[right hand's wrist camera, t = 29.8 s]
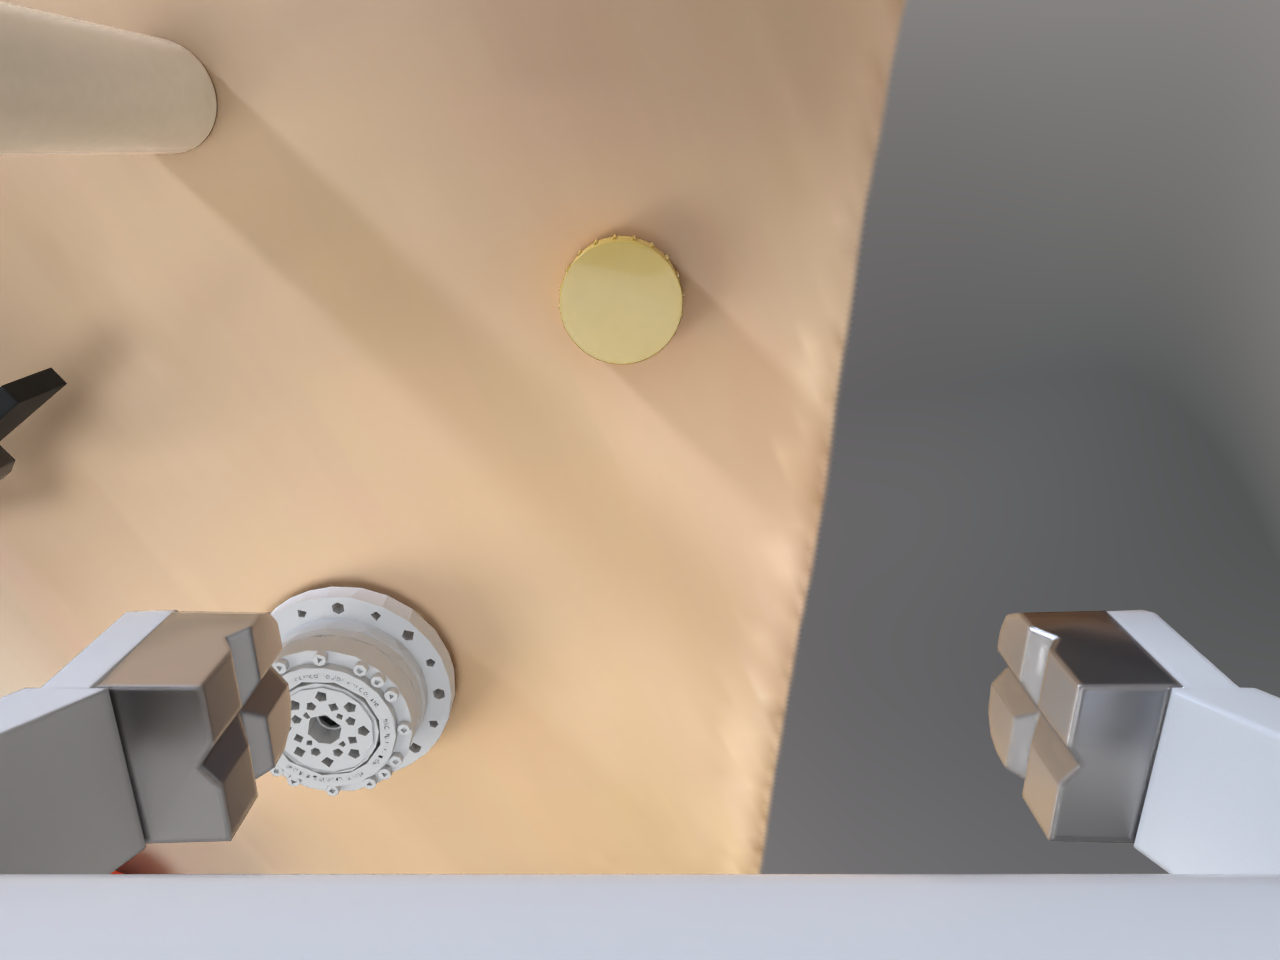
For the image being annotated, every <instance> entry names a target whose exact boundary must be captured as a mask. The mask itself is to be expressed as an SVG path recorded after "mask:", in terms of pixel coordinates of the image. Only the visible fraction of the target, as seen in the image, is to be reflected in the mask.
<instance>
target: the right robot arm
mask: <svg viewBox="0 0 1280 960" xmlns="http://www.w3.org/2000/svg"><path fill="white" fill-rule="evenodd" d="M282 649H283V647H282V642H281V637H280V632H279V627H278V622H277V621H276V620H275V619H274V618H273V616H272V615H271V614H270V613H260V612H205V611H181V612H179V611H177V610H159V611H135V612H126V613H125V614H124V615H122V616H121V617H120V618H119V619H118V620H117V621H116V622H115V623H113V624H112V625H111V626H110V627H109V628H108V629H107V630H106V631H104V632H103V633H102V634H101V635H100V636H99V637H98V638H96V639H95V640H94V641H93V642H92V643H91V644H90V645H89V646H87V647H86V648H85V649H84V650H83V651H82V652H81V653H80V654H78V655H77V656H76V657H75V658H74V659H73V660H72V661H71V662H69V663H68V664H67V665H66V666H65V667H64V668H63V669H61V670H60V671H59V672H58V673H57V674H56V675H55V676H54V677H52V678H51V679H50V680H49V681H48V682H47V683H46V684H45V685H43V686H42V687H41V688H24V689H22V690H19V691H17V692H14V693H12V694H9V695H6V696H4V697H1V698H0V960H1280V698H1278V697H1276V696H1273V695H1271V694H1268V693H1266V692H1263V691H1261V690H1258V689H1256V688H1239V687H1238V686H1237V685H1236V684H1234V683H1233V682H1232V681H1231V680H1230V679H1229V678H1228V677H1227V676H1225V675H1224V674H1223V673H1222V672H1221V671H1220V670H1219V669H1218V668H1216V667H1215V666H1214V665H1213V664H1212V663H1211V662H1210V661H1209V660H1207V659H1206V658H1205V657H1204V656H1203V655H1202V654H1201V653H1200V652H1198V651H1197V650H1196V649H1195V648H1194V647H1193V646H1192V645H1190V644H1189V643H1188V642H1187V641H1186V640H1185V639H1184V638H1183V637H1181V636H1180V635H1179V634H1178V633H1177V632H1176V631H1175V630H1174V629H1172V628H1171V627H1170V626H1169V625H1168V624H1167V623H1166V622H1165V621H1163V620H1162V619H1161V618H1160V617H1159V616H1158V615H1157V614H1156V613H1152V612H1149V611H1145V610H1128V611H1075V612H1034V613H1015V614H1009V615H1007V616H1006V618H1005V620H1004V622H1003V625H1002V627H1001V630H1000V635H999V641H998V647H997V649H998V651H999V652H1000V654H1001V655H1002V657H1003V658H1004V660H1005V662H1006V663H1007V665H1008V667H1007V668H1006V669H1005V670H1004V671H1003V672H1002V673H1001V674H1000V675H999V676H998V677H997V678H996V679H995V680H994V682H993V683H992V684H991V693H990V701H989V709H988V710H989V721H990V730H991V736H992V739H993V742H994V746H995V749H996V752H997V754H998V755H999V757H1000V759H1001V761H1002V762H1003V764H1004V766H1005V767H1006V768H1007V769H1008V770H1010V771H1012V772H1013V773H1015V774H1017V775H1018V776H1020V777H1021V778H1023V779H1025V783H1024V788H1023V794H1022V796H1023V798H1024V800H1025V801H1026V803H1027V805H1028V806H1029V808H1030V810H1031V811H1032V813H1033V815H1034V816H1035V818H1036V820H1037V821H1038V823H1039V825H1040V826H1041V828H1042V830H1043V831H1044V833H1045V835H1046V836H1047V838H1048V839H1049V841H1071V842H1108V843H1134V848H1136V849H1137V850H1139V851H1140V852H1141V853H1143V854H1144V855H1145V856H1147V857H1148V858H1149V859H1151V860H1152V861H1153V862H1155V863H1156V864H1158V865H1159V866H1160V867H1162V868H1163V869H1164V870H1166V871H1167V872H1168V873H1170V874H111V873H112V872H113V871H115V870H116V869H117V868H119V867H120V866H121V865H123V864H124V863H126V862H127V861H128V860H130V859H131V858H132V857H134V856H135V855H136V854H138V853H139V852H140V851H142V850H143V849H145V848H146V843H171V842H207V841H231V840H232V838H233V836H234V835H235V833H236V831H237V830H238V828H239V826H240V825H241V823H242V821H243V820H244V818H245V816H246V815H247V813H248V811H249V810H250V808H251V806H252V805H253V803H254V801H255V800H256V798H257V796H258V794H257V788H256V782H255V779H257V778H259V777H260V776H262V775H263V774H265V773H267V772H268V771H270V770H272V769H273V768H275V766H276V764H277V762H278V761H279V759H280V757H281V755H282V753H283V752H284V750H285V746H286V742H287V738H288V734H289V730H290V726H291V698H290V691H289V684H288V683H287V681H286V680H285V679H284V678H283V677H282V676H281V675H280V674H279V673H278V672H277V671H276V670H275V669H274V668H273V667H272V665H273V663H274V662H275V660H276V658H277V657H278V655H279V654H280V652H281V651H282Z"/></svg>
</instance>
